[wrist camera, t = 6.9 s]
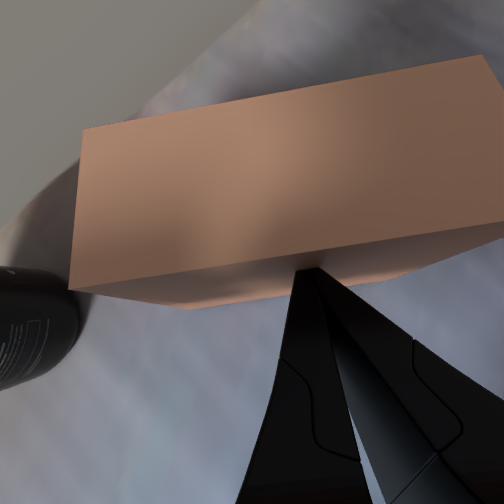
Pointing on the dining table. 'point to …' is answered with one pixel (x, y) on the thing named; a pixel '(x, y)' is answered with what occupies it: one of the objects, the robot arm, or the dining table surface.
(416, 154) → the terracotta block
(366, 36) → the dining table surface
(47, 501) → the dining table surface
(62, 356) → the supplement bottle
